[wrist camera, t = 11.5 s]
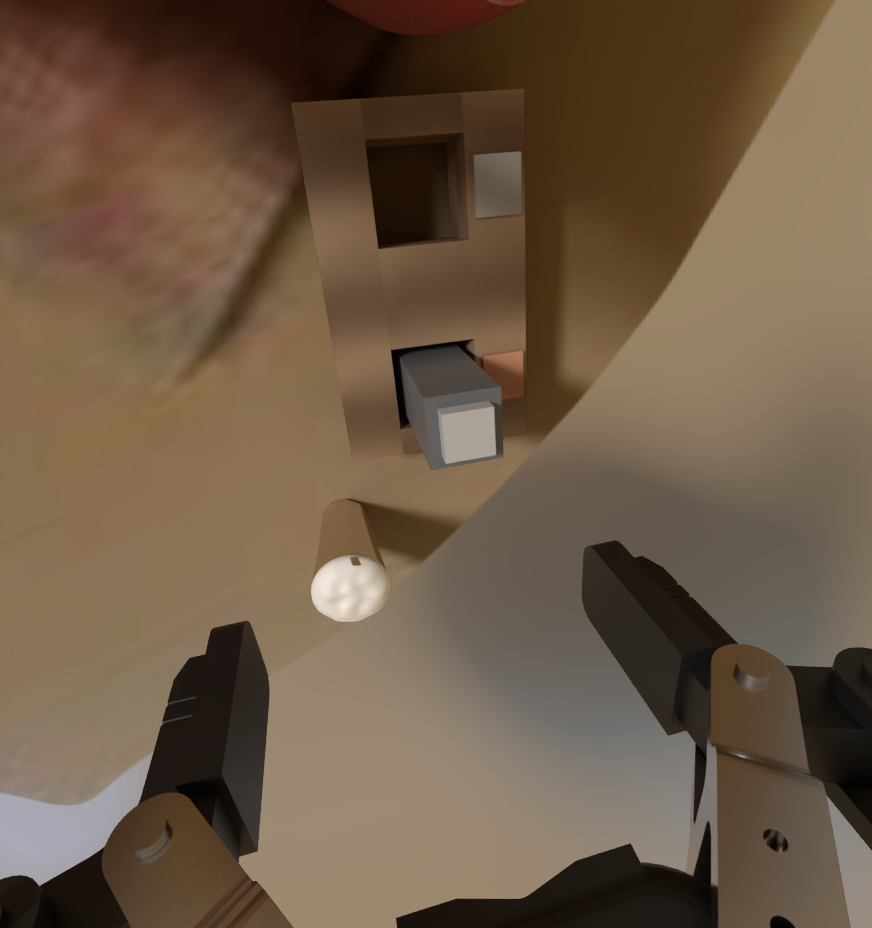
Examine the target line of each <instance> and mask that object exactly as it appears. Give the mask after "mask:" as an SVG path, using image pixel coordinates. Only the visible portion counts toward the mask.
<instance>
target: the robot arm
mask: <svg viewBox="0 0 872 928" xmlns="http://www.w3.org/2000/svg"><path fill="white" fill-rule="evenodd" d="M582 601H583V606H584V609H585V612H586V614H587V616H588V618H589V620H590V622H591V623H592V624H593V626H594V627H595V629H596V630H597V632H598V633H599V635H600V636H601V638H602V639H603V641H604V642H605V644H606V645H607V647H608V648H609V649H610V651H611V652H612V654H613V655H614V657H615V658H616V660H617V661H618V663H619V664H620V666H621V667H622V669H623V670H624V672H625V673H626V674H627V676H628V677H629V679H630V680H631V682H632V683H633V685H634V686H635V688H636V689H637V691H638V692H639V694H640V695H641V696H642V698H643V699H644V701H645V702H646V704H647V705H648V707H649V708H650V710H651V711H652V713H653V714H654V715H655V717H656V718H657V720H658V721H659V723H660V724H661V726H662V727H663V729H664V730H665V732H666V733H667V735H672V734H675V733H679V732H682V731H686V730H687V732H688V733H689V734H690V736H691V737H692V738H693V740H694V745H693V750H692V783H691V812H690V813H691V815H690V837H689V848H688V855H687V864H686V873H685V872H683V871H680V870H678V869H674V868H671V867H667V866H664V865H659V864H652V863H640V861H639V859H638V857H637V855H636V853H635V851H634V849H633V847H632V845H631V844H628V845H624V846H621V847H618V848H615V849H612V850H609V851H605V852H603V853H599V854H596V855H593V856H590V857H587V858H584V859H581V860H577V861H575V862H574V863H572V864H571V865H570V866H568V867H567V868H566V869H564V870H563V871H561V872H560V873H559V874H557V875H556V876H555V877H553V878H552V879H550V880H549V881H548V882H546V883H545V884H544V885H542V886H541V887H540V888H538V889H537V890H535V891H534V892H533V893H531V894H530V895H528V896H527V897H525V898H521V899H454V900H451V901H448V902H445V903H442V904H439V905H436V906H432V907H429V908H426V909H423V910H420V911H417V912H413V913H410V914H408V915H404V916H401V917H398V918H396V921H397V928H850V922H849V916H848V912H847V905H846V900H845V895H844V889H843V883H842V878H841V873H840V867H839V861H838V856H837V851H836V845H835V839H834V834H833V828H832V824H831V817H830V812H829V807H828V802H827V796H828V797H829V799H830V800H831V801H832V802H833V803H834V805H835V806H836V807H837V808H838V810H839V811H840V812H841V813H842V815H843V816H844V817H845V818H846V819H847V821H848V822H849V823H850V824H851V825H852V827H853V828H854V829H855V830H856V832H857V833H858V834H859V835H860V837H861V838H862V839H863V840H864V842H865V843H866V844H867V845H868V846H869V848H870V849H871V850H872V649H869V648H848V649H845V650H842V651H841V652H839V653H838V655H837V656H836V658H835V660H834V663H833V666H832V667H806V666H787V665H785V664H784V663H783V662H781V661H780V660H779V659H778V658H777V657H775V656H774V655H772V654H770V653H768V652H766V651H764V650H762V649H760V648H757V647H753V646H750V645H744V644H738V643H737V642H736V641H735V640H734V639H733V638H732V637H731V636H730V635H729V634H728V633H727V632H726V631H725V630H724V629H723V628H722V627H721V626H720V625H719V624H718V623H717V622H716V621H715V620H714V619H713V618H712V617H711V616H710V615H709V614H708V613H707V612H706V611H705V610H704V609H703V608H702V607H701V606H700V605H699V604H698V603H697V602H696V601H695V600H694V599H693V598H692V597H691V598H690V596H689V593H688V592H687V591H686V590H685V589H684V588H682V587H681V585H678V584H677V581H676V580H675V579H674V578H673V577H672V576H671V575H670V574H669V573H668V572H667V571H666V570H665V569H664V568H663V567H661V566H660V565H658V564H656V563H654V562H652V561H650V560H649V559H647V558H645V557H643V556H640V557H636V558H634V557H633V556H632V555H631V554H630V553H629V552H628V550H627V549H626V548H625V547H624V546H623V545H622V544H621V543H620V542H618V541H610V542H605V543H601V544H596V545H592V546H587V547H586V548H585V550H584V556H583V578H582ZM268 708H269V680H268V674H267V670H266V667H265V664H264V661H263V658H262V655H261V652H260V649H259V646H258V643H257V641H256V638H255V635H254V632H253V629H252V626H251V624H250V622H249V621H243V622H238V623H234V624H229V625H225V626H220V627H216V628H213V629H212V630H211V632H210V636H209V640H208V645H207V649H206V654H205V655H201V656H196V657H192V658H189V660H188V661H187V662H186V664H185V665H184V666H183V668H182V669H181V671H180V672H179V673H178V675H177V676H176V678H175V679H174V681H173V685H172V688H171V692H170V696H169V699H168V706H167V707H166V710H165V713H164V717H163V725H162V726H161V728H160V731H159V735H158V738H157V742H156V745H155V749H154V753H153V756H152V760H151V763H150V767H149V771H148V774H147V778H146V781H145V785H144V788H143V792H142V796H141V799H140V801H139V804H138V805H137V806H136V807H135V808H133V809H132V810H131V811H130V812H129V813H128V814H127V815H126V816H125V817H124V818H123V819H122V820H121V821H120V822H119V823H118V825H117V826H116V827H115V829H114V830H113V832H112V833H111V835H110V837H109V838H108V841H107V843H106V845H105V847H104V848H102V849H101V850H100V851H98V852H97V853H95V854H94V855H92V856H91V857H89V858H88V859H86V860H84V861H82V862H81V863H79V864H77V865H75V866H74V867H72V868H70V869H69V870H67V871H65V872H63V873H62V874H60V875H58V876H56V877H54V878H53V879H51V880H49V881H48V882H46V883H44V884H42V885H41V886H39V885H38V884H37V883H36V882H35V881H34V880H33V879H32V878H29V877H27V876H21V875H20V876H11V877H8V878H4V879H1V880H0V928H293V926H292V925H291V924H290V922H289V921H288V920H287V918H286V917H285V916H284V915H283V913H282V912H281V911H280V909H279V908H278V907H277V905H276V904H275V903H274V902H273V900H272V899H271V898H270V896H269V895H268V894H267V893H266V891H265V890H264V889H263V888H262V887H261V886H260V884H258V882H256V881H254V882H253V881H252V880H251V879H250V877H249V876H248V875H247V874H246V872H245V871H244V870H243V868H242V867H241V866H240V864H239V857H240V856H243V855H246V854H250V853H253V852H257V851H258V838H259V825H260V812H261V800H262V786H263V774H264V761H265V748H266V735H267V721H268ZM826 795H827V796H826Z"/></svg>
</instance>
